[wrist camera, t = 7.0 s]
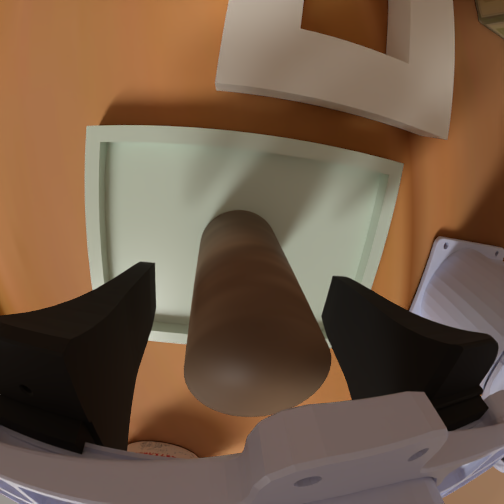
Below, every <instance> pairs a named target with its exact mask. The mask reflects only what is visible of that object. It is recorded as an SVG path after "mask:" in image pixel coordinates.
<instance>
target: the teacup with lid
mask: <svg viewBox="0 0 504 504" xmlns="http://www.w3.org/2000/svg"><path fill="white" fill-rule="evenodd" d="M127 451H129V452H135V453H141V454H148V455H155V456H164V457H173V458H184V459H193V458H198V457H197V456H196V455H195V454H194V453H192V452H190V451H188V450H186V449H184V448H182V447H179V446H176V445H172V444H168V443H163V442H155V441H140V442H134V443H131V444H129V445H128V446H127Z"/></svg>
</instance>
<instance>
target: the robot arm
mask: <svg viewBox="0 0 504 504" xmlns="http://www.w3.org/2000/svg"><path fill="white" fill-rule="evenodd" d="M444 244H445V246H444ZM503 258H504V249H503V248H502V247H497V246H492V245H486V244H481V243H476V242H470V241H465V240H459V239H454V238H448V237H442V236H439V237H437V238H436V239H435V241H434V244H433V247H432V250H431V253H430V256H429V259H428V262H427V265H426V268H425V271H424V274H423V276H422V279H421V282H420V285H419V287H418V290H417V292H416V295H415V297H414V300H413V302H412V305H411V307H410V310H409V311H408V310H406V309H404V308H402V307H400V306H398V305H396V304H394V303H392V302H391V301H389V300H387V299H385V298H384V297H382V296H380V295H379V294H377V293H375V292H374V291H372V290H370V289H369V288H367V287H365V286H364V285H362V284H360V283H358V282H357V281H355V280H353V279H351V278H348V277H346V276H332V280H331V284H330V287H329V291H328V295H327V298H326V302H325V305H324V308H323V312H322V315H321V317H322V321H323V325H324V329H325V332H326V335H327V338H328V340H329V342H330V345H331V347H332V349H333V351H334V353H335V356H336V358H337V360H338V362H339V365H340V367H341V369H342V371H343V374H344V376H345V379H346V381H347V384H348V388H349V391H350V395H351V398H352V400H350V401H341V402H332V403H321V404H309V405H304V406H299V407H294V408H289V409H284V410H281V411H279V412H277V413H275V414H273V415H271V416H269V417H267V418H265V419H263V420H261V421H260V422H259V423H258V424H257V425H256V426H255V428H254V429H253V430H252V431H251V433H250V434H249V435H248V436H247V439H246V443H245V447H244V450H243V452H242V453H237V454H230V455H223V456H214V457H205V458H193V459H184V458H173V457H164V456H155V455H148V454H141V453H135V452H129V451H127V446H128V433H129V423H130V414H131V407H132V400H133V393H134V388H135V382H136V377H137V373H138V369H139V366H140V363H141V360H142V357H143V354H144V351H145V348H146V345H147V342H148V339H149V336H150V333H151V330H152V326H153V321H154V316H155V311H156V283H155V263H152V262H141V261H140V262H138V263H136V264H135V265H133V266H132V267H130V268H129V269H127V270H126V271H124V272H122V273H121V274H119V275H118V276H116V277H115V278H113V279H112V280H110V281H108V282H106V283H105V284H103V285H101V286H100V287H98V288H96V289H94V290H92V291H90V292H88V293H86V294H84V295H82V296H80V297H77V298H75V299H73V300H70V301H67V302H64V303H61V304H58V305H55V306H52V307H48V308H44V309H41V310H36V311H31V312H26V313H18V314H10V315H0V494H2V495H4V496H5V497H7V498H9V499H11V500H13V501H15V502H17V503H19V504H445V503H444V501H443V499H442V498H443V497H445V496H447V495H448V494H450V493H452V492H454V491H455V490H457V489H458V488H460V487H462V486H464V485H465V484H467V483H468V482H470V481H471V480H473V479H475V478H476V477H478V476H479V475H481V474H482V473H484V472H485V471H487V470H488V469H490V468H491V467H493V466H494V467H495V468H496V469H497V470H499V471H501V472H503V473H504V262H503ZM481 394H482V396H480V395H481Z"/></svg>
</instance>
